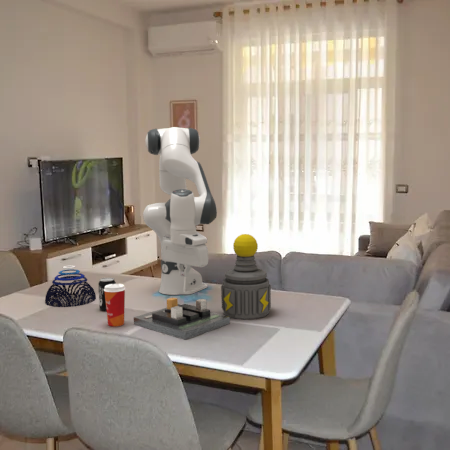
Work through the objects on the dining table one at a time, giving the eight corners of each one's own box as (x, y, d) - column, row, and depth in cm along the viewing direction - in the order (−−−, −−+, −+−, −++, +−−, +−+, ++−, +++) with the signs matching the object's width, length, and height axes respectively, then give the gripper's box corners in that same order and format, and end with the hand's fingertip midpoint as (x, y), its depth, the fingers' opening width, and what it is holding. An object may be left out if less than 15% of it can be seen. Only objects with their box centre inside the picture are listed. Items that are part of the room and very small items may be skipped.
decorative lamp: (245, 303, 225) (244, 229, 221) (281, 312, 211) (281, 233, 207) (210, 313, 212) (209, 234, 208) (247, 323, 198) (246, 239, 194)
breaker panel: (178, 310, 216) (178, 290, 214) (229, 323, 198) (229, 301, 197) (133, 324, 199) (133, 302, 198) (185, 339, 182) (184, 315, 181)
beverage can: (112, 312, 215) (111, 281, 213) (96, 311, 216) (95, 280, 215) (119, 307, 221) (118, 277, 220) (103, 306, 223) (102, 277, 221)
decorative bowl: (34, 304, 228) (32, 270, 226) (65, 293, 246) (64, 260, 244) (75, 309, 220) (73, 273, 218) (104, 296, 238) (103, 263, 237)
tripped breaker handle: (173, 306, 203) (172, 297, 203) (177, 308, 202) (177, 298, 201) (166, 308, 201) (166, 299, 201) (171, 309, 199) (171, 300, 199)
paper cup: (106, 321, 203) (104, 283, 201) (127, 320, 204) (126, 282, 202) (103, 328, 195) (101, 288, 194) (126, 327, 196) (124, 288, 194)
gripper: (156, 235, 198) (157, 273, 200) (197, 241, 184) (198, 282, 186) (169, 232, 203) (170, 270, 205) (211, 238, 189) (211, 278, 191)
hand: (184, 276), depth 195 cm, fingers closed
